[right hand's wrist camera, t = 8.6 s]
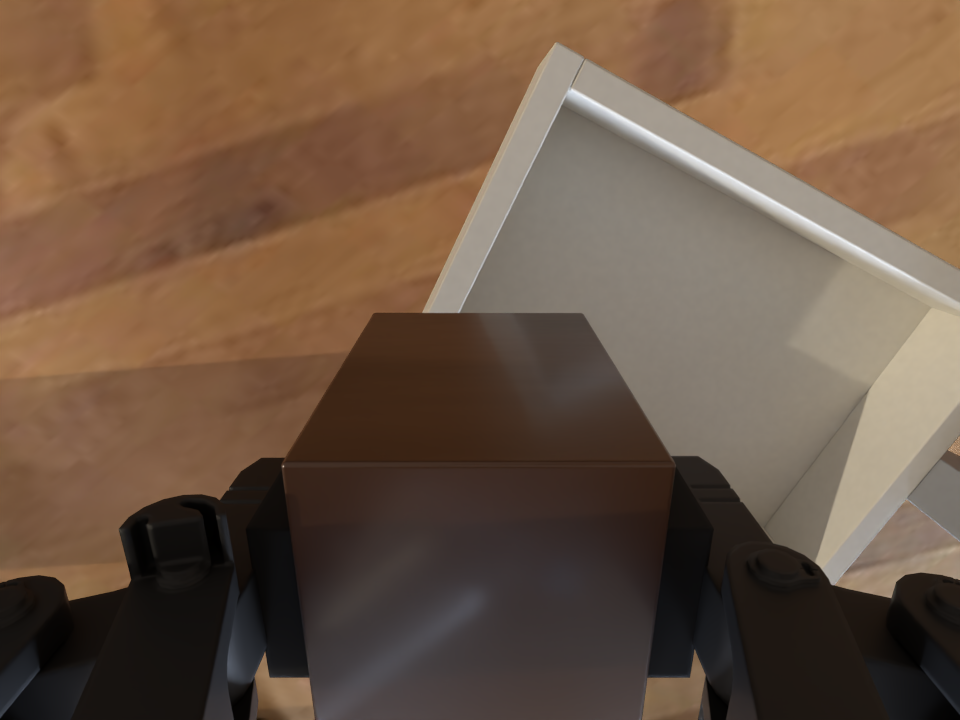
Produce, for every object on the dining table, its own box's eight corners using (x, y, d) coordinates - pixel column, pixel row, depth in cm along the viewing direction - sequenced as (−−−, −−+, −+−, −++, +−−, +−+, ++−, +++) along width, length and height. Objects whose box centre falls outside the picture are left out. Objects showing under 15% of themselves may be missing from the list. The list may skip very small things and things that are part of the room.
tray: (1099, 376, 27) (1560, 539, 15) (900, 599, 31) (1147, 858, 20) (539, 64, 22) (606, -29, 11) (392, 374, 26) (331, 540, 15)
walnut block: (572, 493, 16) (640, 745, 9) (384, 493, 16) (316, 746, 9) (583, 312, 14) (678, 462, 7) (372, 311, 14) (278, 464, 7)
